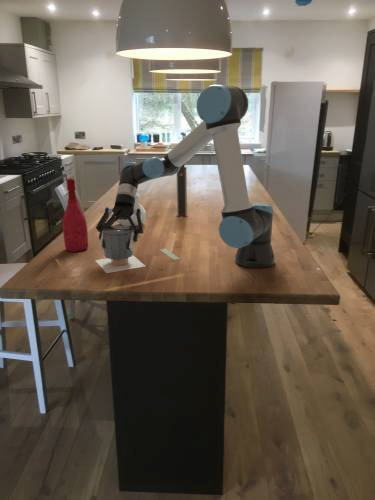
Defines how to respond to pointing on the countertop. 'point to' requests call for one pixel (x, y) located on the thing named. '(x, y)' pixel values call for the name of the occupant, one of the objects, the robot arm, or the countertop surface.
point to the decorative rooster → (134, 217)
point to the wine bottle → (74, 222)
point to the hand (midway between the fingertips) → (116, 248)
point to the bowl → (119, 262)
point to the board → (110, 267)
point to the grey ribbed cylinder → (117, 242)
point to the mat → (169, 254)
